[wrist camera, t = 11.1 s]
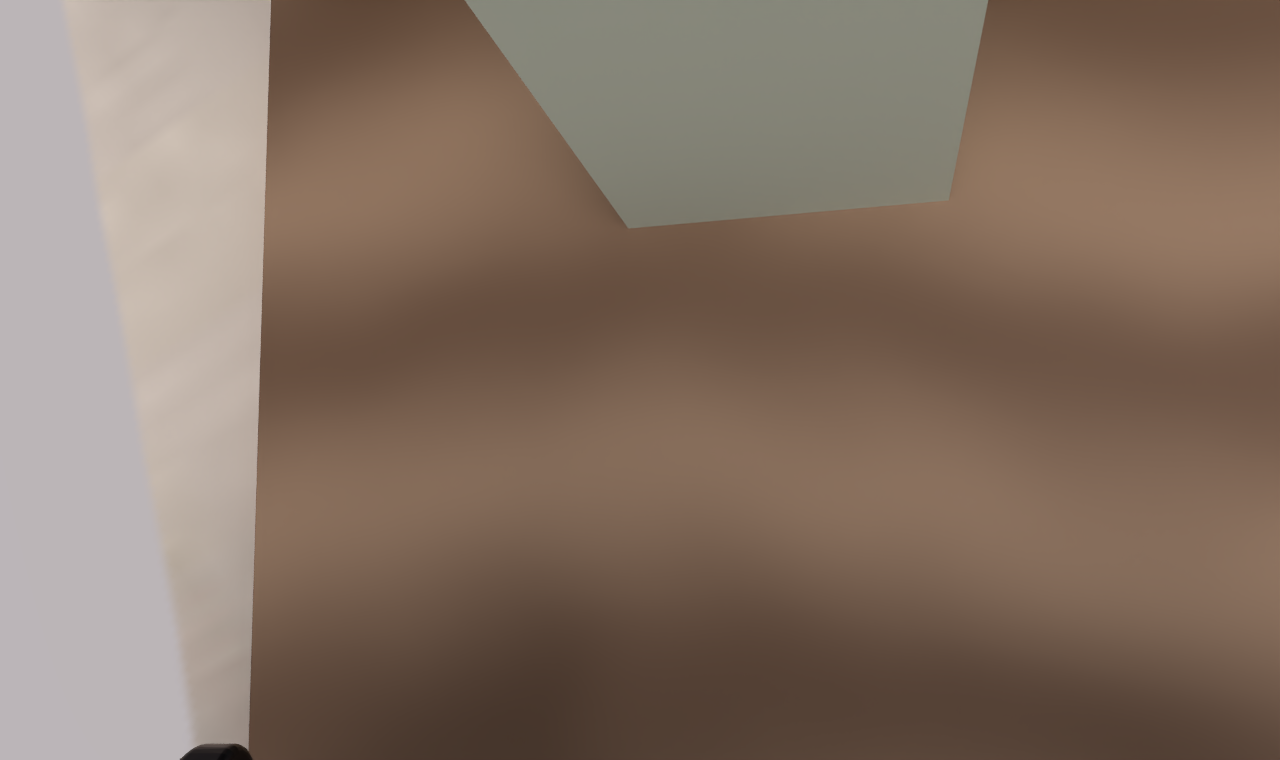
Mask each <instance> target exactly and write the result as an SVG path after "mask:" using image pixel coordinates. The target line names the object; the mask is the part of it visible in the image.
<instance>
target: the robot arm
mask: <svg viewBox="0 0 1280 760" xmlns="http://www.w3.org/2000/svg"><path fill="white" fill-rule="evenodd" d="M180 760H253V758H252V757H251V755H250V753H249V752H248V750H247V749H246V748H245V747H243V746H241V745H239V744H203V745H199V746H197V747H195V748H193V749H192V750H190V751H189V752H188V753H186V754H185V755H184V756H183V757H182V758H181V759H180Z"/></svg>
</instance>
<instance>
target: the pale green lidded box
mask: <svg viewBox="0 0 1280 760" xmlns="http://www.w3.org/2000/svg"><path fill="white" fill-rule="evenodd" d="M465 1H466V3H467V4H468V6H469V7H470V8H471V10H472V11H473V13H474V14H475V15H476V17H477V18H478V20H479V21H480V22H481V24H482V25H483V27H484V28H485V29H486V31H487V32H488V33H489V35H490V36H491V38H492V39H493V40H494V42H495V43H496V45H497V46H498V47H499V49H500V50H501V52H502V53H503V54H504V56H505V57H506V59H507V60H508V61H509V63H510V64H511V66H512V67H513V68H514V70H515V71H516V73H517V74H518V75H519V77H520V78H521V79H522V81H523V82H524V84H525V85H526V86H527V88H528V89H529V91H530V92H531V93H532V95H533V96H534V98H535V99H536V100H537V102H538V103H539V105H540V106H541V107H542V109H543V110H544V112H545V113H546V114H547V116H548V117H549V119H550V120H551V121H552V123H553V124H554V125H555V127H556V128H557V130H558V131H559V132H560V134H561V135H562V137H563V138H564V139H565V141H566V142H567V144H568V145H569V146H570V148H571V149H572V151H573V152H574V153H575V155H576V156H577V158H578V159H579V160H580V162H581V163H582V164H583V166H584V167H585V169H586V170H587V171H588V173H589V174H590V176H591V177H592V178H593V180H594V181H595V183H596V184H597V185H598V187H599V188H600V190H601V191H602V192H603V194H604V195H605V197H606V198H607V199H608V201H609V202H610V204H611V205H612V206H613V208H614V209H615V210H616V212H617V213H618V215H619V216H620V217H621V219H622V220H623V222H624V223H625V224H626V226H627V227H628V228H640V227H651V226H663V225H674V224H685V223H697V222H708V221H720V220H731V219H742V218H754V217H765V216H776V215H788V214H799V213H811V212H822V211H833V210H845V209H856V208H868V207H879V206H890V205H902V204H913V203H925V202H936V201H947V200H949V196H950V191H951V186H952V181H953V176H954V171H955V166H956V161H957V156H958V151H959V146H960V141H961V136H962V131H963V125H964V120H965V115H966V110H967V105H968V100H969V95H970V90H971V85H972V80H973V75H974V70H975V65H976V60H977V55H978V50H979V44H980V39H981V34H982V29H983V24H984V19H985V14H986V9H987V4H988V0H465Z"/></svg>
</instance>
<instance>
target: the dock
mask: <svg viewBox="0 0 1280 760" xmlns="http://www.w3.org/2000/svg"><path fill="white" fill-rule="evenodd" d="M249 753H250V755H251V757H252V758H253V760H1280V0H988V4H987V9H986V14H985V19H984V24H983V29H982V34H981V39H980V44H979V50H978V55H977V60H976V65H975V70H974V75H973V80H972V85H971V90H970V95H969V100H968V105H967V110H966V115H965V120H964V125H963V131H962V136H961V141H960V146H959V151H958V156H957V161H956V166H955V171H954V176H953V181H952V186H951V191H950V196H949V200H947V201H936V202H925V203H913V204H902V205H890V206H879V207H868V208H856V209H845V210H833V211H822V212H811V213H799V214H788V215H776V216H765V217H754V218H742V219H731V220H720V221H708V222H697V223H685V224H674V225H663V226H651V227H640V228H628V227H627V226H626V224H625V223H624V222H623V220H622V219H621V217H620V216H619V215H618V213H617V212H616V210H615V209H614V208H613V206H612V205H611V204H610V202H609V201H608V199H607V198H606V197H605V195H604V194H603V192H602V191H601V190H600V188H599V187H598V185H597V184H596V183H595V181H594V180H593V178H592V177H591V176H590V174H589V173H588V171H587V170H586V169H585V167H584V166H583V164H582V163H581V162H580V160H579V159H578V158H577V156H576V155H575V153H574V152H573V151H572V149H571V148H570V146H569V145H568V144H567V142H566V141H565V139H564V138H563V137H562V135H561V134H560V132H559V131H558V130H557V128H556V127H555V125H554V124H553V123H552V121H551V120H550V119H549V117H548V116H547V114H546V113H545V112H544V110H543V109H542V107H541V106H540V105H539V103H538V102H537V100H536V99H535V98H534V96H533V95H532V93H531V92H530V91H529V89H528V88H527V86H526V85H525V84H524V82H523V81H522V79H521V78H520V77H519V75H518V74H517V73H516V71H515V70H514V68H513V67H512V66H511V64H510V63H509V61H508V60H507V59H506V57H505V56H504V54H503V53H502V52H501V50H500V49H499V47H498V46H497V45H496V43H495V42H494V40H493V39H492V38H491V36H490V35H489V33H488V32H487V31H486V29H485V28H484V27H483V25H482V24H481V22H480V21H479V20H478V18H477V17H476V15H475V14H474V13H473V11H472V10H471V8H470V7H469V6H468V4H467V3H466V1H465V0H271V26H270V59H269V92H268V125H267V158H266V191H265V224H264V258H263V291H262V324H261V357H260V390H259V423H258V456H257V489H256V522H255V556H254V589H253V622H252V655H251V688H250V721H249Z"/></svg>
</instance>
